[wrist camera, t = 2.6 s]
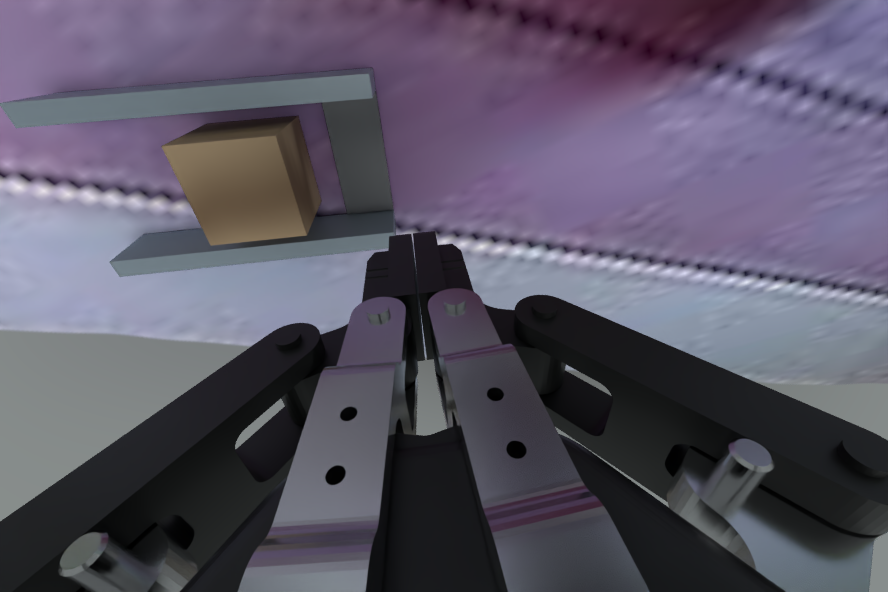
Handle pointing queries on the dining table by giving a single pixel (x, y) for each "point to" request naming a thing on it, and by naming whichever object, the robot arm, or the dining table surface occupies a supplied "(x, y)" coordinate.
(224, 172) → the block
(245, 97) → the channel
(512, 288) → the dining table surface
